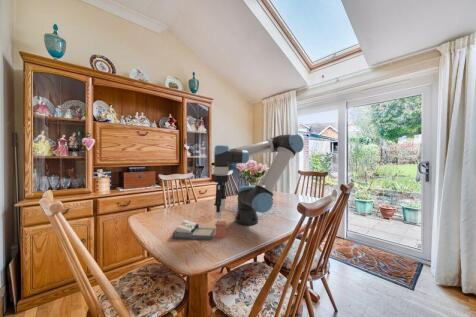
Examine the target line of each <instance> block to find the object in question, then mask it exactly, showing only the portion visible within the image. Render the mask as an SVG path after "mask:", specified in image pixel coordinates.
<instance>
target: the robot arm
mask: <svg viewBox="0 0 476 317" xmlns="http://www.w3.org/2000/svg"><path fill="white" fill-rule="evenodd" d="M304 146H305V145H304V139H303V137H302V136H301V135H300V134H298V133H289V134H281V135H276V136H274V137H273V136H272V137H270V138H266V139H265V140H264V141H260V142H256V143H252V144H246V145H242V146H238V147H235V148H231V149H230V147H229V146H228V145H215V146H214V153H213V157H214V158H213V160H214V165H213V166H214V168H212V169H213V173H214V175H213V182H214V183H217V185H216V191H215V198H214V199H215V201H214V204H213V205H214V206H215V219H220V220H221V219H222V211H223V212H225V211H226V199H227V196H226V183H228V182H229V164H246V163H248V162H249V160H250V157H254V156H258V155H262V154H266V153H268V154H272V153H277V154H276V155H275V157H274V159H273V161H272V162H271V164H270V165H269V167H268V169H267V171H266V173H265V174H264V176H263V178H262V179H261V181H260V183H258V184H256V185H244V186H239V187H238V188H237V211H236V214H235V216H234V223H236V224H237V225H241V226H254V225H257V224H258V223H259V216H258V213H261V214H263V213H267V212H268V211H270V210H271V209H272V208H273V205H274V198H273V196H274V195H275V194H274V192H273V191H274V189H275V187H276V186H277V184H278V182H279V180H280V178H281V177H282V175H283V173H284V171H285V170H286V167H287V166H288V164H289V161H290V160H291V159H294V158H295V156H296V154H297V153H300V152H302V151H303V149H304Z"/></svg>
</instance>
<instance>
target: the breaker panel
mask: <svg viewBox="0 0 476 317" xmlns="http://www.w3.org/2000/svg"><path fill="white" fill-rule="evenodd" d="M176 230H177V228H175V230H173V231H172V236H171V239H173V240H192V241H193V240H195V241H196V240H198V241H211V239H212V237H213V236H214V233H216V227H200V224H199V223H198V224H197V223H196V226H195V228H194V229H193V230H191V233H182V232H176Z"/></svg>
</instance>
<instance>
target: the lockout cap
mask: <svg viewBox="0 0 476 317" xmlns="http://www.w3.org/2000/svg"><path fill="white" fill-rule="evenodd" d="M226 224H227V220H217V221H216V223H215V238H225V237H226V234H227V233H226V232H227V231H226V230H227V229H226V228H227V227H226V226H227V225H226Z"/></svg>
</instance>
